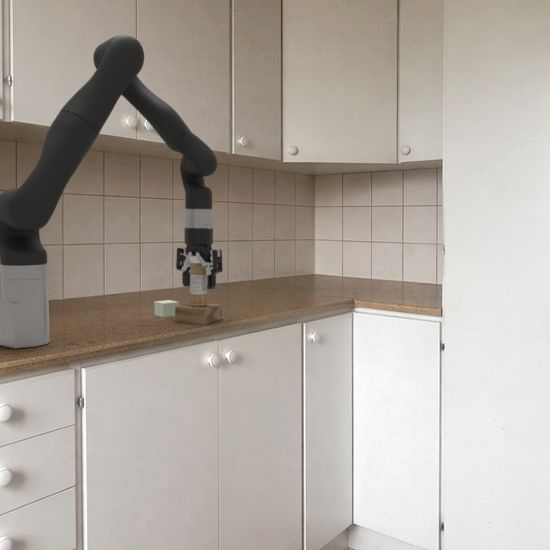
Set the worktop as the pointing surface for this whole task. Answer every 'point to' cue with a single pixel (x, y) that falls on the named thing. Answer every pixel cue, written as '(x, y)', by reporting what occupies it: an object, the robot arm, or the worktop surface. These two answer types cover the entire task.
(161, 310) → the sage block
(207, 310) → the walnut block
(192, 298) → the sprinkles bottle
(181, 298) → the worktop surface
